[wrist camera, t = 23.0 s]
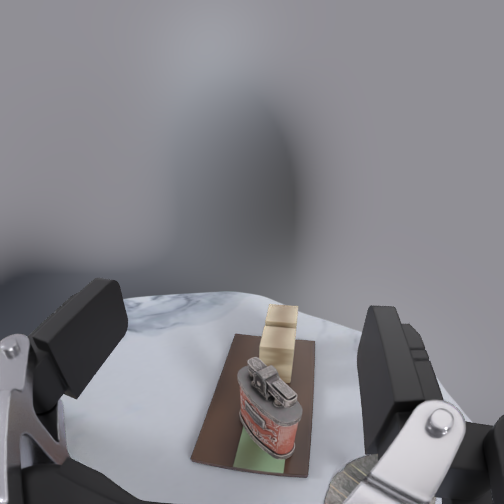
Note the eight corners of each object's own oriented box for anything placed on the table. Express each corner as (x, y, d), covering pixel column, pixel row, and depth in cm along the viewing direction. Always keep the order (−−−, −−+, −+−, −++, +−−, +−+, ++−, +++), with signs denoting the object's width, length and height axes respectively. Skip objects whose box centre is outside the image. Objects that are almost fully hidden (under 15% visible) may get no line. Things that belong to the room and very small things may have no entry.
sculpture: (338, 449, 27) (401, 424, 23) (379, 479, 27) (436, 459, 23) (310, 541, 17) (389, 531, 13) (362, 560, 17) (431, 548, 13)
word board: (191, 461, 26) (180, 429, 23) (235, 337, 46) (233, 300, 43) (307, 478, 24) (317, 448, 21) (314, 344, 44) (319, 307, 41)
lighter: (232, 416, 31) (228, 354, 27) (257, 403, 33) (258, 341, 29) (275, 465, 25) (282, 412, 21) (301, 449, 27) (315, 392, 22)
